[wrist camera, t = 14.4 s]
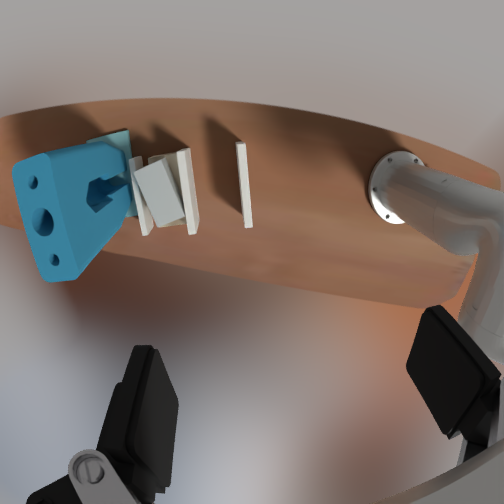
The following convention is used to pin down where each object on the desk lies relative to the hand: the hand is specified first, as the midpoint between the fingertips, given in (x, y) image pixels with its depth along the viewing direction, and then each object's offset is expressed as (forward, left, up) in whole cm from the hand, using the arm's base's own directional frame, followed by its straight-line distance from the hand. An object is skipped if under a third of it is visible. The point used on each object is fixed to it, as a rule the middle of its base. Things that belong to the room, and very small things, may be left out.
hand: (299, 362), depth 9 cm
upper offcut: (+11, 0, -33) cm, 34 cm away
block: (+19, -3, -35) cm, 40 cm away
